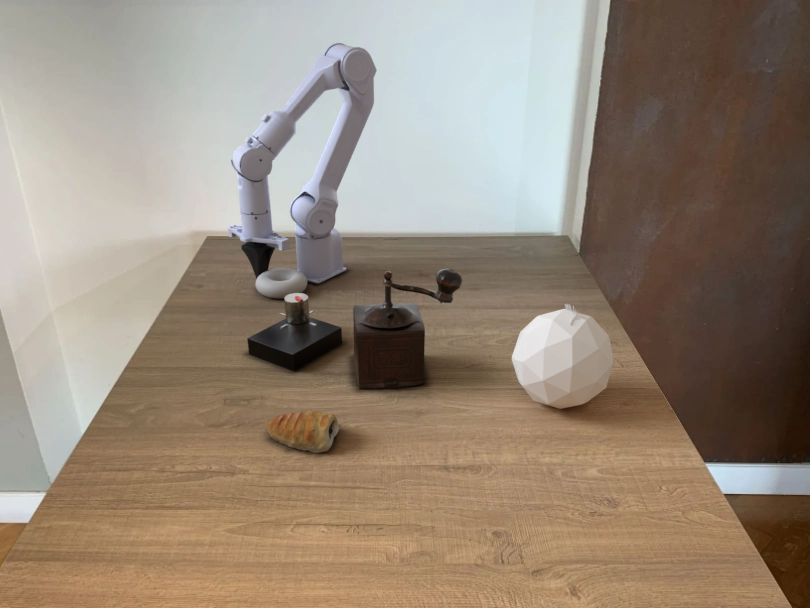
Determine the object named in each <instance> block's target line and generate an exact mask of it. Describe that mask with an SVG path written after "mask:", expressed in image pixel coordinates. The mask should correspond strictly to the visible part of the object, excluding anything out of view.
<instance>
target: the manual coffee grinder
mask: <svg viewBox="0 0 810 608" xmlns="http://www.w3.org/2000/svg"><path fill="white" fill-rule="evenodd" d="M392 277H393V273H392V272H391V271H390V270H386V271H385V272H384V273H383V278H384V279H383V282H382V285H383V286H384V302H381V303H378V304H357V305H353V309H352V315H353V318H352V319H353V322H352V323H353V325H352V327H353V359H352V361H353V368H354V369H353V370H354V379H355V384H356V385H355V386H356V387H357V388H358V389H361V390H363V389H365V390H367V389H394V388H395V389H397V388H403V387H413V386H414V387H415V386H420V385H425V384H426V382H425V381H426V380H425V346H426V345H425V342H426V327H425V324H424V321H423V318H422V313H421V311H420V309H419V307H418V304H417V303H415V302H413V303H412V302H411V303H396V302H392V288H393V289H395V290H398V291H402V292H410V293H416V294H422V295H426V296H429V297H431V298H433V299H434V300H437V301H438V302H440V304H442V303H444V304H451V303H452V302H453V301H454V297H453V294H454V293H455V292H456V291H457V290H459V289H460V287H461V286H462V283H463V278H462V275H461V274H460V273H459V272H458V271H456V270H455V269H453V268H442V269H440V270H438V272H437V273H436V276H435V281H436V284H437V290H436V291H434V290H431V289H428V288H426V287H425V288H424V287H420V286H414V285H407V284H401V283H396V282H393V279H392Z"/></svg>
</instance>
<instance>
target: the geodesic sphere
mask: <svg viewBox="0 0 810 608" xmlns="http://www.w3.org/2000/svg"><path fill="white" fill-rule="evenodd" d="M610 338H611V337H610V335H609V334H608V333H607V332H606V331H605V330H604V329H603V328H602V326H600V324H599V323H598V322H597V320H595V319H594V317H593V316H591V315H587V314H584V313H580V310H577V309H575V306H574V305H572V306H571V304H570V303H564V308H562V309H558V310H554V311H550V312H547V313H543V314H539V315H536V316H535V317H534V318H533V319H532V320H531V321H530V322H529V323H528V324H527V325H526V326H525V327H524V328H523V329H521V330H520V332H519V334H518V337H517V340H516V344H515V346H514V350H513V352H512V355H511V361H512V362H511V363H512V365H513V368H514V371H515V372H514V373H515V375H516V378H517V382H518V383H519V384H520V385H521V387H522V388H523V389H524V390H525V392H526V393H527V394H528V396H529V397H530V398H531V399H532V401H533V402H536V403H539V404H542V405H545V406H548V407H552V408H556V409H558V410H561V409H567V408H572V407H576V406H581V405H584V404H586V403H588V402H589V401H591V400H592V399H593V398H595V397H596V396H598V395H599V394H600V393H601V392H603V391H604V390H605V389H607V386H608V384H609V380H610V376H611V372H612V369H613V365H614V361H615V359H614V354H613V349H612V344H611V339H610Z"/></svg>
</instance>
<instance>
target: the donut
mask: <svg viewBox="0 0 810 608" xmlns="http://www.w3.org/2000/svg"><path fill="white" fill-rule="evenodd" d="M307 286H308V281H307V278H306V277H305V275H304V274H303V273H302V272H300V271H298V270H297V269H294V268H288V267H278V268H272V269H268V271H266V272H264V273H262V274H261V275H259V276H258V278H257V279H256V280H255V288H256V291H257V292H258V293H259V294H260V295H262V296H263V297H266V298H270V299H277V300H278V299H282V300H283V299H284V297H285V296H286V295H289V294H292V293H304V292H305V290H306V289H307Z"/></svg>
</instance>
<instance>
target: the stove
mask: <svg viewBox="0 0 810 608" xmlns="http://www.w3.org/2000/svg"><path fill="white" fill-rule="evenodd" d="M314 312H315V310H311V311H310V310H309V315H311V314H313V313H314ZM278 314H279V315H281V316H284V317H286V315H285V313H283V312H279V313H278ZM309 318H310V319H309V321H308V322H306V323H303V324H290V323H288V322H287V321H286V318H284V319H282V320H280V321H278V322H276V323H274V324H272V325H270V326H268V327H266V328H264V329H262V330H261V331H258V332H256V333H255V334H252V335H250V336H248V337H247V338H246V340H247V348H248V355H250V356H252V357H255V358H258V359H261V360H264V361H266V362H268V363H271V364H274V365H276V366H279V367H282V368H285V369H288V370H290V371H293V372H296V371H297V370H299V369H301V368H303V367H305V366H306V365H307V364H310V363H311V362H313V361H314V360H317V359H318V358H319V357H321V356H324V355H325V354H326V353H328V352H330V351H332V350H333V349H335V348H337V347H339V346H340V345H341V344H343V329H342V326H339V325H336V324H332V323H329V322H326V321H322V320H320V319H317V318H314V317H310V316H309Z"/></svg>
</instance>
